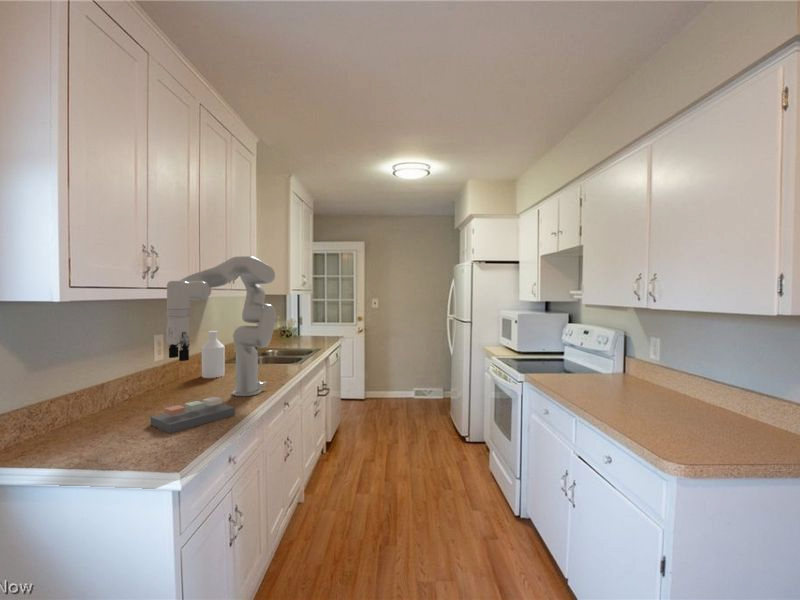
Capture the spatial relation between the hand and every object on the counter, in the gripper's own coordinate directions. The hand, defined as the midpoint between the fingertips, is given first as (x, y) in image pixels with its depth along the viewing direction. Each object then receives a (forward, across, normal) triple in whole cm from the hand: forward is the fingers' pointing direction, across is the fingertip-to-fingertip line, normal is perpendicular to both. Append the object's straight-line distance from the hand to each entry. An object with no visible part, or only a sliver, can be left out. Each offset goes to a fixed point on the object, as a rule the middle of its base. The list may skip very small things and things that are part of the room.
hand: (178, 359), depth 150 cm
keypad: (+22, +7, +3) cm, 24 cm away
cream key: (+18, +6, +10) cm, 21 cm away
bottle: (+22, -63, +41) cm, 78 cm away
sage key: (+18, +7, +3) cm, 19 cm away
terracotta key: (+18, +8, -4) cm, 20 cm away
